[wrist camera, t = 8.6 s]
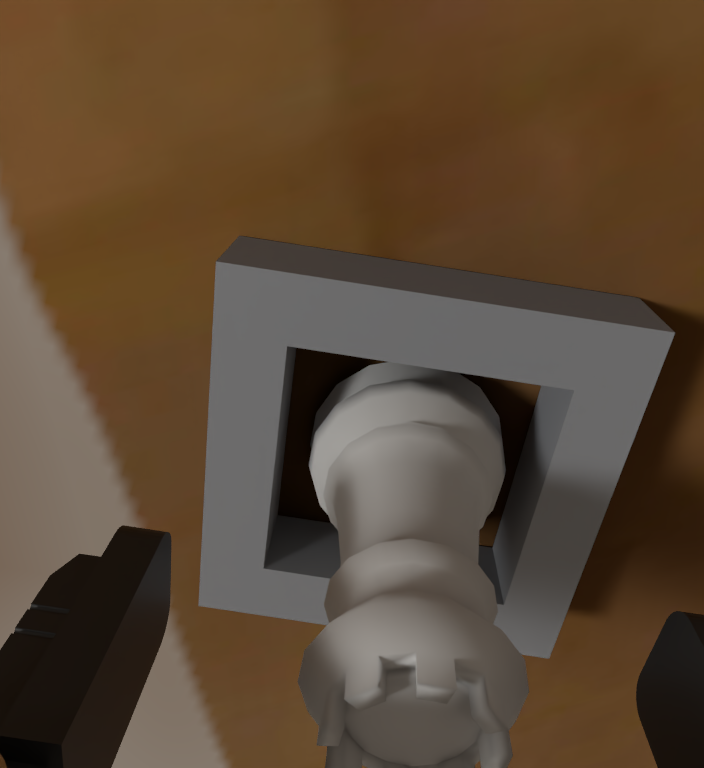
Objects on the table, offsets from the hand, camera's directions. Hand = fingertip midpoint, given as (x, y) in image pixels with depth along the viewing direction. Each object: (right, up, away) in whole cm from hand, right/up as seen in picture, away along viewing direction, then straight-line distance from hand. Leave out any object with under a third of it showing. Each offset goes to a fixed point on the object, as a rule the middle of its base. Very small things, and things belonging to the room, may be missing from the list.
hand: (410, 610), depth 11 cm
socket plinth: (0, +2, +5) cm, 6 cm away
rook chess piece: (0, +2, +5) cm, 6 cm away
